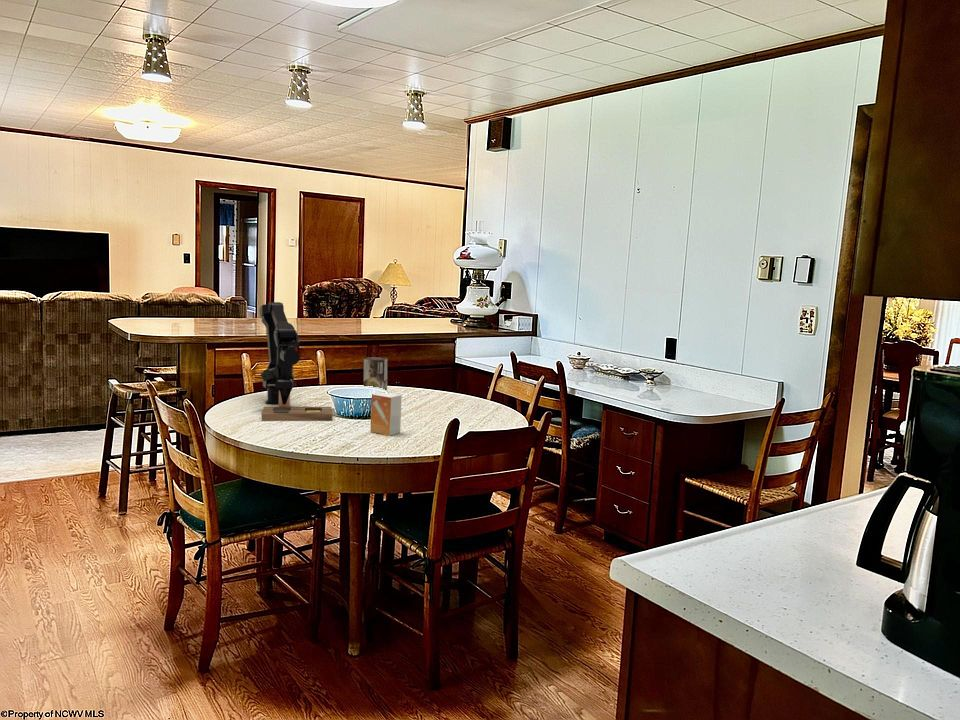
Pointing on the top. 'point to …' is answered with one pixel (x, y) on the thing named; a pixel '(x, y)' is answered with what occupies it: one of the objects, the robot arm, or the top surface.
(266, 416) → the socket board
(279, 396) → the plug
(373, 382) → the coffee box
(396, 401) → the small box
